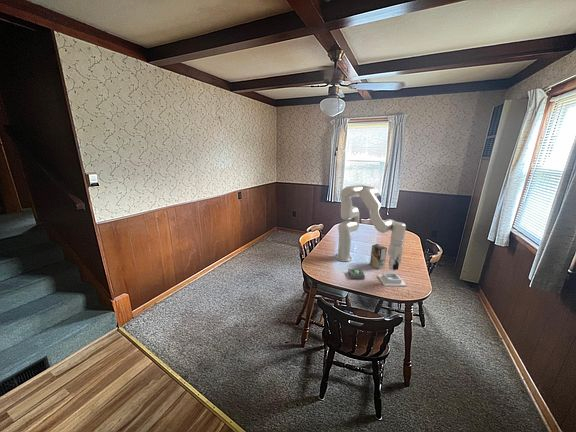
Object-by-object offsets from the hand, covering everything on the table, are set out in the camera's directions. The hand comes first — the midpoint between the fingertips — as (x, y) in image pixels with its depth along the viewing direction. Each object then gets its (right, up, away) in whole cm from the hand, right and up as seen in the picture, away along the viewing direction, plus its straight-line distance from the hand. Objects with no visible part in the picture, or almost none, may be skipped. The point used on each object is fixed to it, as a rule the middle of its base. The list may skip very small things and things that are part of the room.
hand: (393, 266), depth 150 cm
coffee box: (-2, -5, +23) cm, 24 cm away
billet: (0, -1, 0) cm, 1 cm away
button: (-22, -8, +9) cm, 25 cm away
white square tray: (0, -10, +3) cm, 11 cm away
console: (-22, -8, +9) cm, 25 cm away
